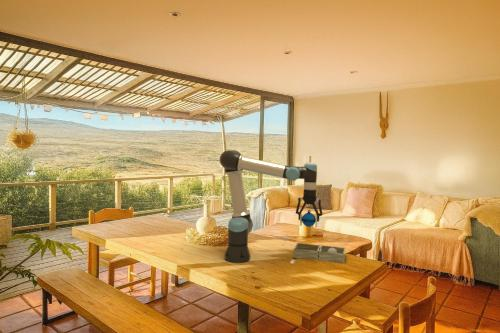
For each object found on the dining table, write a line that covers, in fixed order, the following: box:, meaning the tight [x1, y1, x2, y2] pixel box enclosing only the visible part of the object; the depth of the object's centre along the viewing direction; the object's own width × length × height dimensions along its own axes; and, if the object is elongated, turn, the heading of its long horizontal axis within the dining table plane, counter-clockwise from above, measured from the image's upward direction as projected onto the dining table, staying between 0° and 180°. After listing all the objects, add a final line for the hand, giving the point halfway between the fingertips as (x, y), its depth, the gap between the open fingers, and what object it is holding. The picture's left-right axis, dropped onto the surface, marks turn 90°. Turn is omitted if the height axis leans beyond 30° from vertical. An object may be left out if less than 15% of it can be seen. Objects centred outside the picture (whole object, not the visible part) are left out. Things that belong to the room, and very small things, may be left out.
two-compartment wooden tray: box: [292, 242, 346, 264], centre depth 202 cm, size 15×30×6 cm, turn 73°
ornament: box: [302, 209, 316, 228], centre depth 203 cm, size 9×9×10 cm
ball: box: [327, 248, 337, 253], centre depth 200 cm, size 6×6×6 cm
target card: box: [290, 259, 297, 265], centre depth 193 cm, size 6×8×1 cm
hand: (308, 226), depth 203 cm, fingers closed on ornament, 9 cm apart
